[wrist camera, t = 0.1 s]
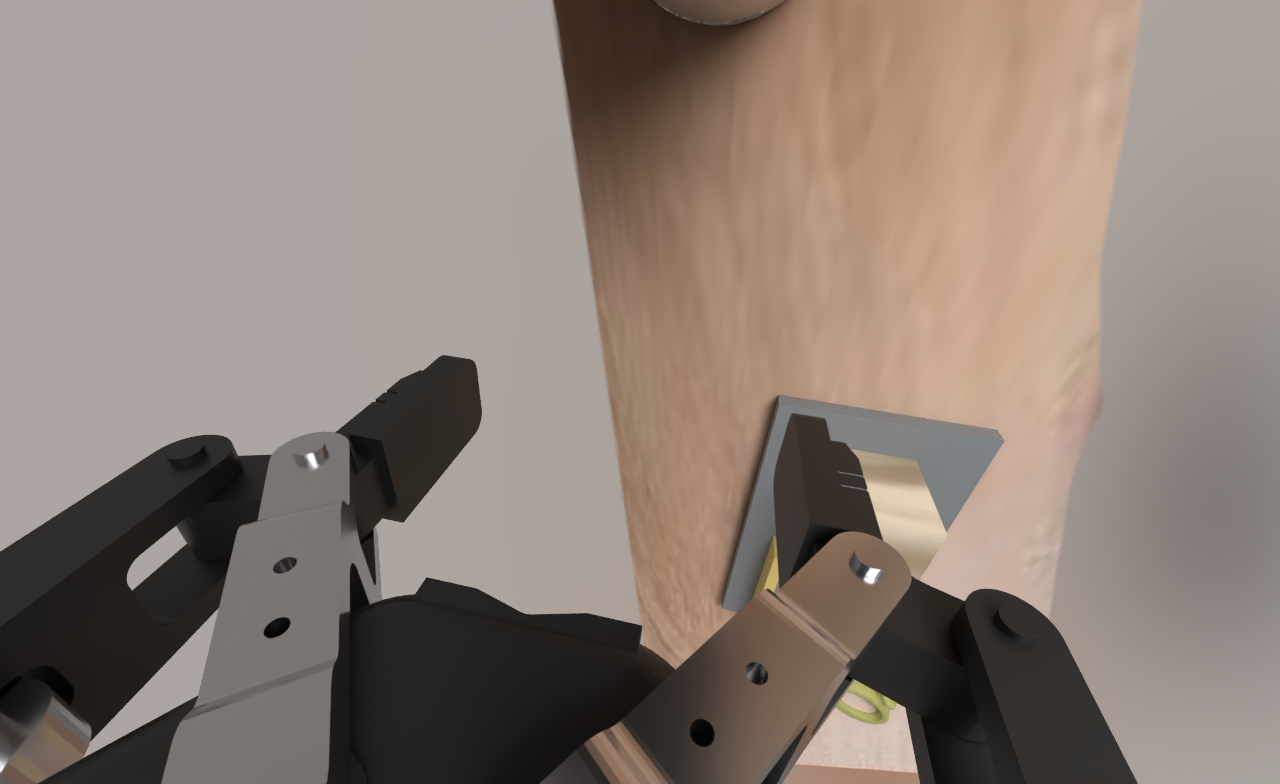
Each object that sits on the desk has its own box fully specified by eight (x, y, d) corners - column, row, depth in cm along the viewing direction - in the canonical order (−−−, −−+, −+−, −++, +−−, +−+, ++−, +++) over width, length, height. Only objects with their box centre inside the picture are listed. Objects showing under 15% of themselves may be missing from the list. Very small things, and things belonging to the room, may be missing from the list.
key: (963, 671, 43) (972, 697, 41) (866, 716, 50) (870, 739, 48) (896, 638, 42) (902, 662, 41) (807, 687, 49) (809, 710, 48)
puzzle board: (778, 395, 31) (781, 423, 29) (997, 430, 29) (1019, 463, 27) (722, 598, 43) (720, 630, 41) (874, 630, 42) (881, 665, 39)
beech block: (834, 446, 31) (849, 517, 26) (916, 460, 30) (947, 535, 26) (813, 501, 34) (823, 574, 29) (888, 514, 33) (911, 592, 28)
